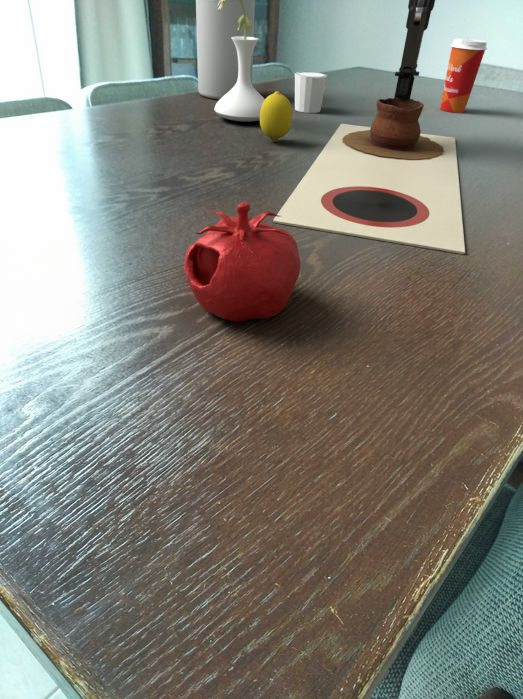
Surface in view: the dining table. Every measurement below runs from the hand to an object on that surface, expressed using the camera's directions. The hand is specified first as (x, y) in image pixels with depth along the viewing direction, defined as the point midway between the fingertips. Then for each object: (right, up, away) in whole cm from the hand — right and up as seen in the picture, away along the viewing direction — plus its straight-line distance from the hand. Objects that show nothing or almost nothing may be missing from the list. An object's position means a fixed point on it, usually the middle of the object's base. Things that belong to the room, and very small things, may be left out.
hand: (398, 116), depth 89 cm
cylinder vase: (-33, +18, +27) cm, 46 cm away
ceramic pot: (-1, -6, -1) cm, 6 cm away
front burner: (-10, -24, -25) cm, 36 cm away
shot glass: (-15, +10, +19) cm, 26 cm away
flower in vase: (-29, +3, +9) cm, 30 cm away
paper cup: (+20, +14, +27) cm, 37 cm away
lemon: (-23, -6, -2) cm, 23 cm away
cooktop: (-6, -14, -13) cm, 20 cm away
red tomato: (-27, -38, -45) cm, 64 cm away
